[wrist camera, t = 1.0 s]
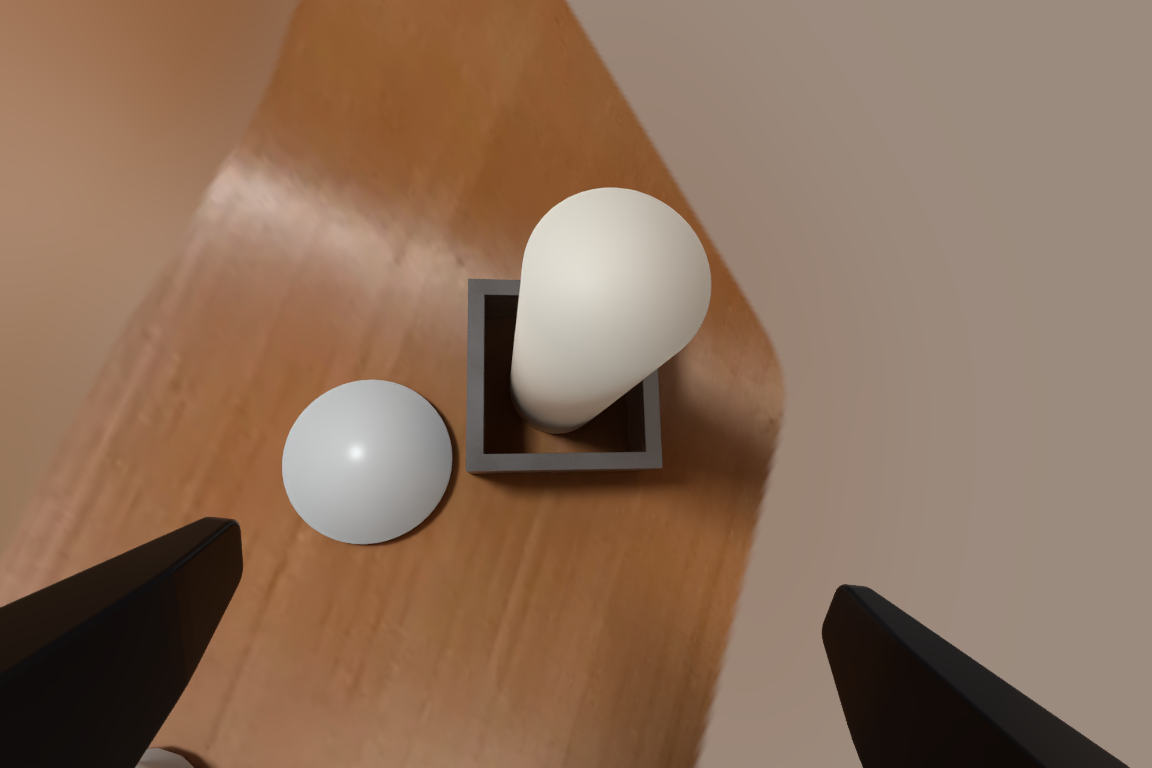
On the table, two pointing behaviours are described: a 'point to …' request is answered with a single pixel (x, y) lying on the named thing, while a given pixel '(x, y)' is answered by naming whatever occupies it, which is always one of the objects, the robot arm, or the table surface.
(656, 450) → the frame
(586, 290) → the cream peg
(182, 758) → the rook chess piece
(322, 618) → the table surface
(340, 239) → the table surface
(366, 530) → the white oval disc
